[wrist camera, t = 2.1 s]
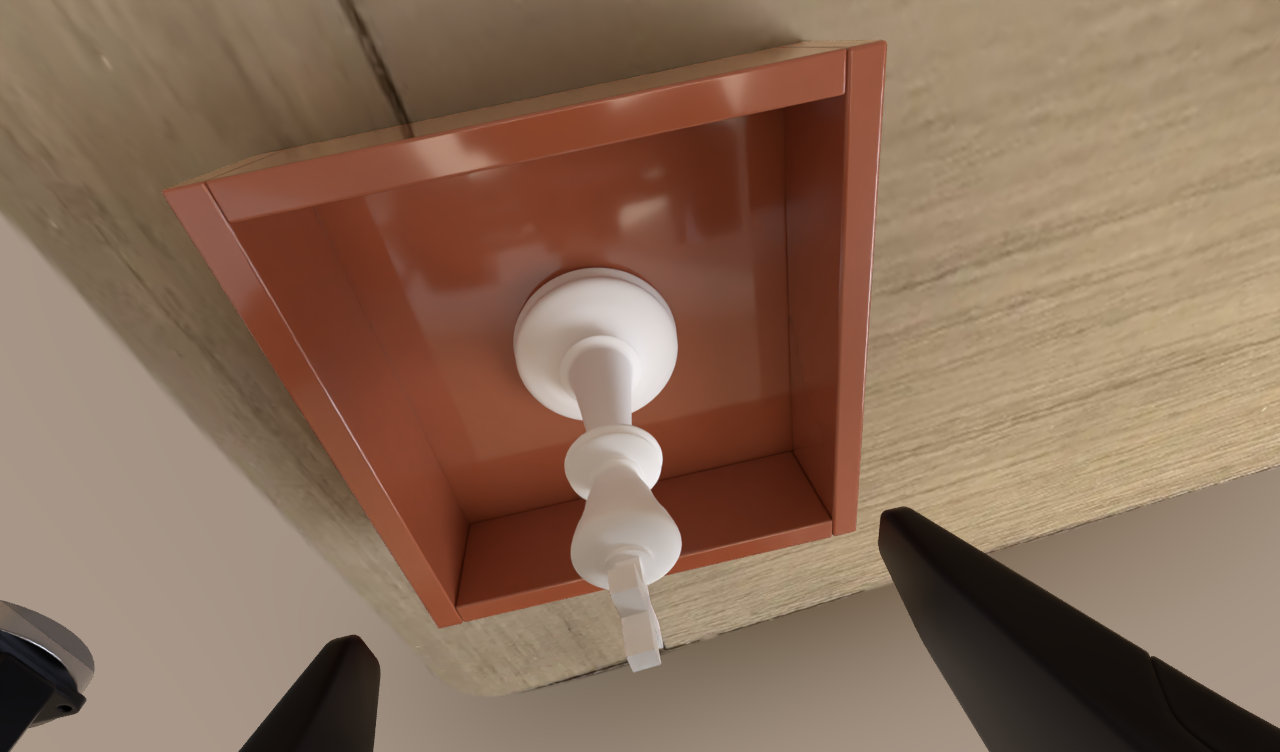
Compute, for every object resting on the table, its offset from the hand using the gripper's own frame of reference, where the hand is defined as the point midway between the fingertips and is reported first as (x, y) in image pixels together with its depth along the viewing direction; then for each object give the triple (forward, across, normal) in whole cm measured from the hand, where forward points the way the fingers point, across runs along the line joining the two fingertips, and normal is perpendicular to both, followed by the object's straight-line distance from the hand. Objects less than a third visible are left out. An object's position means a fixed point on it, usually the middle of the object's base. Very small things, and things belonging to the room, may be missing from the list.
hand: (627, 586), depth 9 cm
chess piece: (+9, 0, 0) cm, 9 cm away
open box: (+9, 0, 0) cm, 9 cm away
